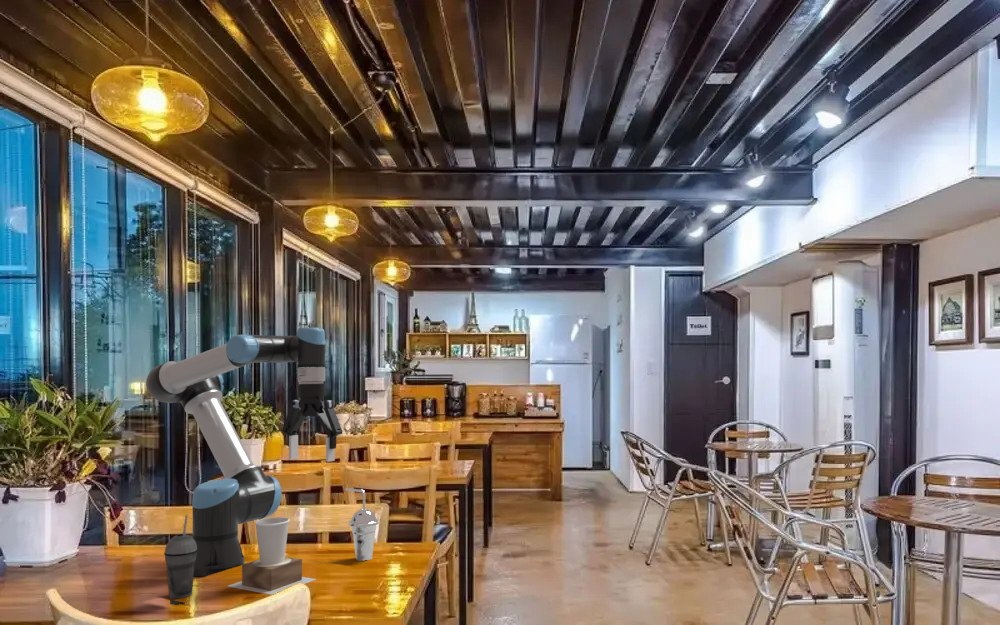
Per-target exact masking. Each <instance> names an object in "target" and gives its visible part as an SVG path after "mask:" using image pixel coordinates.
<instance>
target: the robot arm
mask: <svg viewBox="0 0 1000 625" xmlns="http://www.w3.org/2000/svg"><path fill="white" fill-rule="evenodd" d="M325 333H326V332H325V330H324V328H323V327H299V328H298V329H297V334H296V335H268V334H267V335H263V334H247V333H243V334H237V335H233V336H231V337H230V339H229V340H228V341H227V342H226V343H224V344H221V345H219V346H217V347H214V348H211V349H209V350H206V351H203V352H201V353H197V354H195V355H193V356H189V357H188V358H185V359H181V360H180V361H174V360H171V361H170V360H169V361H167V362H164V363H162V364H159V365H156V366H155V367H153V368H152V369H151V370H150V372H149V373H148V374H147V377H146V380H145V385H146V390H147V393H148V394H149V395H150V396H151V397H152V398H153V399H155V400H156V401H158V402H161V403H167V404H173V403H175V404H176V403H180V404H181V405H182V408H183V409H184V412H185V413H187V414H189V415H193V418H194V420H195V421H196V424H197V426H198V427H199V430H200V431H201V434H202V435H203V437H204V439H205V441H206V443H207V445H208V447H209V449H210V451H211V453H212V455H213V457H214V459H215V461H216V463H217V464H218V467H219V468H220V471H221V473H222V475H223V476H224V478H219V479H212V480H209V481H206V482H203V483H201V484H198V485H197V486H196V487H195V488H194V490H193V492H192V501H191V506H192V529H191V530H192V531H191V532H192V533H191V534H192V536H191V537H192V538H193V539H194V540H195V542H196V545H197V550H198V551H197V555H196V559H195V567H194V577H208V576H212V575H214V574H218V573H221V572H224V571H228V570H230V569H231V570H232V569H234V568H237V567H242V564H245V555H244V553H243V549H242V546H241V543H240V540H239V525H241V524H245V523H249V522H252V521H257V520H260V519H264V518H268V517H271V515H274V514H275V512H277V510H278V509H279V507H280V505H281V500H282V496H283V495H282V487H281V484H280V482H279V480H278V479H277V478H276V477H274V476H272V475H269V474H268V475H266V474H265V472H264V470H263V467H261V465H257V464H254V462H253V461H252V459H251V458H250V456H249V454H248V451H247V450H246V448H245V445H244V444H243V442H242V440H241V438H240V437H239V434H238V433H237V430H236V429H235V426H234V425H233V423H232V421H231V419H230V418H229V417H230V416H228V413H227V411H226V410H225V407H224V405H223V404H222V402H221V401H222V398H223V391H224V388H225V387H224V385H223V384H224V378H223V374H226V373H228V372H231V371H233V370H236V369H239V368H242V367H245V366H248V365H250V364H254V363H255V364H256V363H260V364H261V363H262V364H263V363H273V364H274V363H275V364H278V363H279V364H282V363H295V362H296V363H297V382H298V385H297V397H298V398H299V399H293V400H290V402H289V403H290V404H289V405H290V406H289V410H288V413H287V415H286V418H285V421H284V424H283V426H282V429H281V432H282V433H283V434H286V435H287V447H288V450H289V451H288V458H289V459H288V460H295V459H299V434H298V433H297V432H298V430H300V428H301V426H302V424H303V423H304V421H305V420H306V418H308V417H311V418H315V419H317V420H318V422H319V423H320V425H321V427H322V429H323V430H324V431H325V433H326V435H327V436H326V437H325V462H327V463H328V462H334V461H336V459H335V458H336V449H337V437H338V436H339V435H343V429H342V426H341V423H340V421H339V419H338V416H337V413H336V411H335V407H334V406H335V405H334V400H332V399H330V400H329V399H327V400H324V397H326V384H325V383H324V382H325V381H326V345H327V343H326V335H325Z"/></svg>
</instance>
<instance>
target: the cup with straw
mask: <svg viewBox="0 0 1000 625" xmlns="http://www.w3.org/2000/svg"><path fill="white" fill-rule="evenodd" d="M344 490H345V491H349V492H356V493H362V509H361V508H359V509H358V510H357V511H355V512H354V513H353V515H352V518H351V520H349V521H348V522H349V523H348V526H349V527H350V528H351V532H352V536H353V537H352V538H353V545H354V553H355V560H356V561H361V562H366V561H365V560H367V561H370V560H372V559H373V553H374V545H375V535H376V532H377V531H376V530H377V525H379V524H380V521H379V519H378V518H377V516H376V514H375V512H373V511H372V510H371V509H368V508H366V492H365V490H364V489H360V488H350V487H345V489H344Z"/></svg>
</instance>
